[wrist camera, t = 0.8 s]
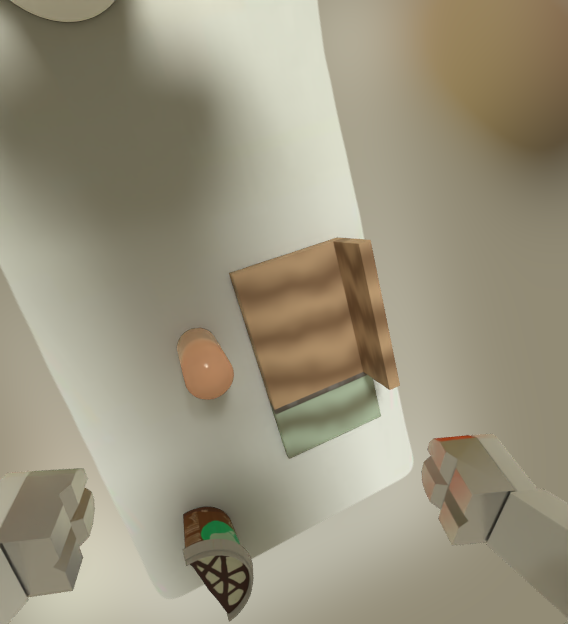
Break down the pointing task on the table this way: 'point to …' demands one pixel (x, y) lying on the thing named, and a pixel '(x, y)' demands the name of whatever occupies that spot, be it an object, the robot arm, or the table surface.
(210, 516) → the food container
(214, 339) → the peach cylinder
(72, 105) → the table surface
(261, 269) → the brown wooden l-shaped board
